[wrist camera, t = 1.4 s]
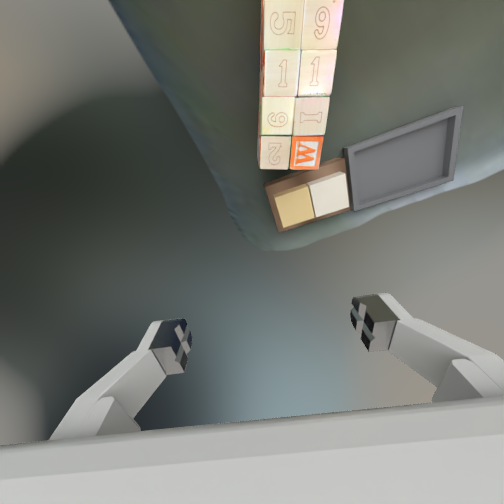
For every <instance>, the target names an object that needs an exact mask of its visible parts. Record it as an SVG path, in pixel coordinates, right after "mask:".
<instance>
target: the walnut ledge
mask: <svg viewBox="0 0 504 504" xmlns="http://www.w3.org/2000/svg"><path fill="white" fill-rule="evenodd" d="M339 171H340V172H343V173H345V175H346V183H347V192H348V200H349V207H347V208H344V209H341V210H338V211H335V212H331V213H328V214H325V215H322V216H319V217H315V216H314V217H315V218H313V219H310V220H306V221H303V222H300V223H297V224H294V225H291V226H288V227H285V228H283V225H282V222H281V219H280V216H279V212H278V209H277V206H276V202H275V199H274V196H273V195H274V194H277V193H280V192H283V191H285V190H288V189H291V188H294V187H297V186H300V185H302V184H306V183H308V182H311V181H314V180H317V179H320V178H322V177H325V176H328V175H331V174H334V173H337V172H339ZM306 185H307V184H306ZM264 186H265V189H266V193H267V196H268V199H269V202H270V205H271V209H272V212H273V215H274V218H275V222H276V225H277V228H278V231H279V233H280V232H283V231H286V230H289V229H292V228H295V227H299V226H302V225H305V224H308V223H311V222H314V221H318V220H321V219H324V218H327V217H330V216H333V215H337V214H340V213H343V212H346V211H349V210H351V208H350V199H349V191H348V182H347V173H346V164H345V158H340V157H336V158H333V159H330V160H328V161H325V162H322V163H319V169H317V170H300V171H297V172H295V173H292V174H289V175H286V176H284V177H281V178H278V179H275V180H273V181H270V182H267V183H264Z"/></svg>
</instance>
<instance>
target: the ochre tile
mask: <svg viewBox="0 0 504 504" xmlns="http://www.w3.org/2000/svg"><path fill="white" fill-rule="evenodd" d="M273 196H274V199H275V202H276V206H277V209H278V212H279V216H280V219H281V222H282V225H283V228H285V227H288V226H291V225H294V224H297V223H300V222H303V221H306V220H310V219H313V218H315V217H314V212H313V207H312V202H311V197H310V193H309V188H308V186H307V185H306V184H302V185H300V186H297V187H294V188H291V189H288V190H285V191H283V192H280V193H277V194H274V195H273Z"/></svg>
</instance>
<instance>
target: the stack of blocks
mask: <svg viewBox="0 0 504 504" xmlns="http://www.w3.org/2000/svg"><path fill="white" fill-rule="evenodd" d="M343 4H344V0H261V33H260V99H259V119H258V147H257V160H258V164H259V167H260V169H283V170H287V169H294V170H317V169H319V163H320V156H321V150H322V143H323V135H324V134H325V129H326V122H327V115H328V108H329V100H330V98H329V96H330V95H331V92H332V85H333V77H334V71H335V63H336V57H337V50H336V49H337V45H338V40H339V32H340V25H341V18H342V11H343Z"/></svg>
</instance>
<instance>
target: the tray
mask: <svg viewBox="0 0 504 504" xmlns="http://www.w3.org/2000/svg"><path fill="white" fill-rule="evenodd" d="M462 113H463V106H458V107H452V108H449V109H446V110H444V111H441V112H438V113H436V114H433V115H430V116H427V117H425V118H422V119H419V120H417V121H414V122H411V123H409V124H406V125H403V126H400V127H398V128H395V129H392V130H390V131H387V132H384V133H382V134H379V135H376V136H373V137H371V138H368V139H365V140H363V141H360V142H357V143H354V144H352V145H349V146H346V147H344V148H343V154H344V158H345V164H346V173H347V182H348V191H349V199H350V208H351V209H352V210H353V211H357V210H360V209H364V208H367V207H370V206H373V205H376V204H379V203H383V202H386V201H389V200H392V199H395V198H399V197H402V196H405V195H408V194H411V193H414V192H418V191H421V190H424V189H427V188H430V187H433V186H437V185H440V184H443V183H446V182H449V181H453V180H454V172H455V165H456V157H457V150H458V143H459V135H460V128H461V120H462Z"/></svg>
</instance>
